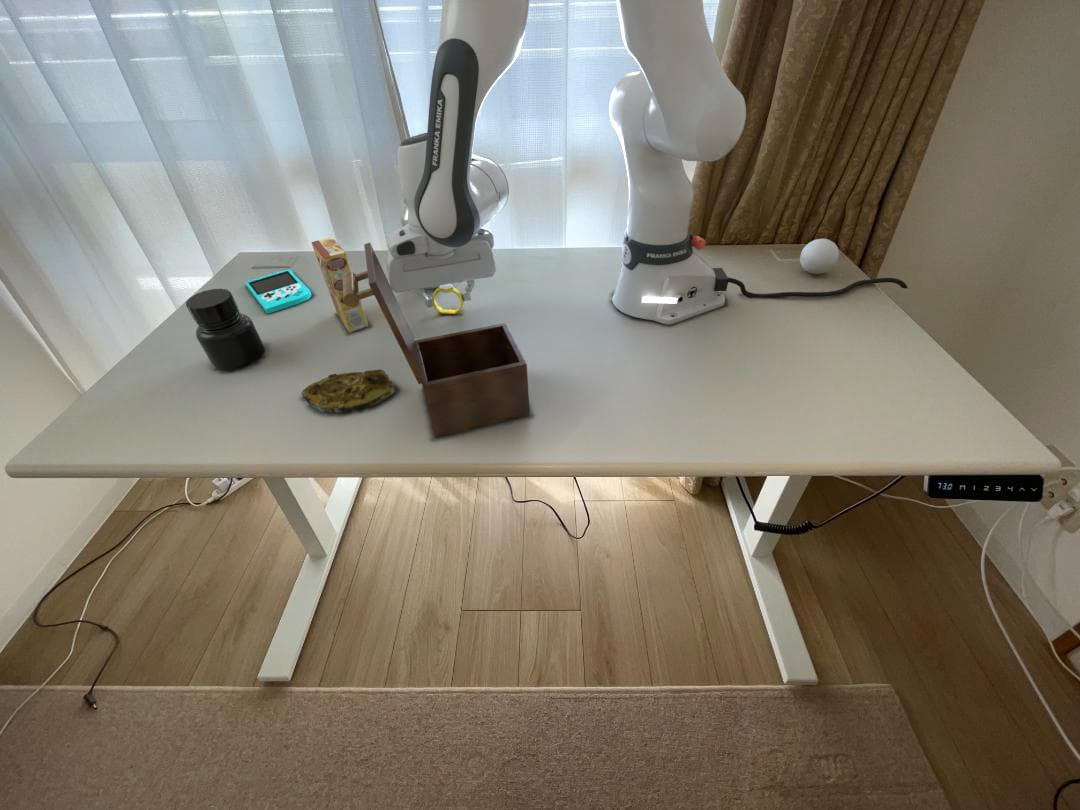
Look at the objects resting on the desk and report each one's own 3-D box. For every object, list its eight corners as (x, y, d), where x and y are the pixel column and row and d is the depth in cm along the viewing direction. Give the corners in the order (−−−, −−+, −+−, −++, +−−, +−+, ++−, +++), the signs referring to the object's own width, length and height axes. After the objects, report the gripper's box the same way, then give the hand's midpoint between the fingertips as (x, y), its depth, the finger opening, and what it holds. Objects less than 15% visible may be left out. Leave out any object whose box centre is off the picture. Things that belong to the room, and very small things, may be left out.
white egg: (838, 279, 104) (851, 246, 100) (803, 280, 105) (815, 247, 100) (817, 259, 112) (829, 227, 107) (785, 260, 112) (795, 228, 107)
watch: (434, 316, 98) (428, 289, 94) (436, 309, 100) (431, 282, 96) (463, 316, 98) (459, 289, 94) (465, 309, 100) (461, 282, 96)
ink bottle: (257, 337, 94) (229, 279, 86) (276, 355, 89) (248, 296, 81) (203, 358, 89) (168, 300, 81) (220, 379, 84) (184, 319, 76)
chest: (510, 372, 83) (505, 322, 77) (529, 415, 75) (526, 364, 69) (424, 390, 80) (412, 340, 74) (434, 438, 72) (422, 386, 65)
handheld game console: (266, 314, 100) (263, 308, 99) (245, 286, 110) (243, 281, 109) (314, 298, 105) (312, 292, 104) (290, 273, 114) (288, 267, 114)
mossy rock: (298, 422, 77) (395, 411, 78) (286, 402, 73) (387, 391, 74) (309, 380, 83) (398, 371, 84) (298, 360, 80) (392, 350, 81)
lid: (370, 242, 63) (333, 254, 63) (375, 281, 55) (333, 295, 54) (414, 337, 74) (383, 348, 73) (424, 382, 65) (390, 395, 65)
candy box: (369, 326, 96) (347, 251, 86) (348, 333, 94) (322, 258, 84) (355, 308, 101) (333, 235, 91) (335, 314, 100) (309, 241, 89)
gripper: (488, 220, 93) (495, 286, 102) (378, 236, 88) (395, 304, 97) (496, 232, 88) (502, 300, 97) (380, 249, 84) (398, 320, 93)
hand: (448, 302), depth 97 cm, fingers closed on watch, 6 cm apart
